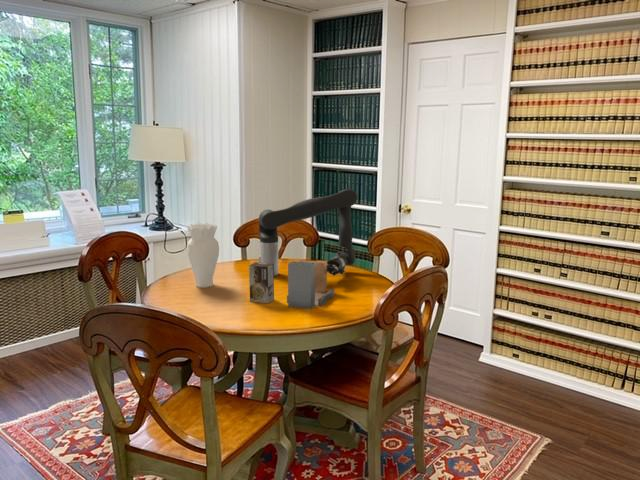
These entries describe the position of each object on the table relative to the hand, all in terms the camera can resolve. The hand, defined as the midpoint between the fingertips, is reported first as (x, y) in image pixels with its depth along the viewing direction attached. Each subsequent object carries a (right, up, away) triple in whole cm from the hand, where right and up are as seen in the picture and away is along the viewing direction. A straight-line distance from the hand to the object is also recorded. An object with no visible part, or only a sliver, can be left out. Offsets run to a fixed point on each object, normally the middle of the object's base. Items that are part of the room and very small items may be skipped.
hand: (324, 272), depth 250 cm
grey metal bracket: (-7, -11, -17) cm, 21 cm away
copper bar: (-2, -8, -4) cm, 9 cm away
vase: (-57, -6, +5) cm, 58 cm away
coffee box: (-27, -11, -18) cm, 34 cm away
